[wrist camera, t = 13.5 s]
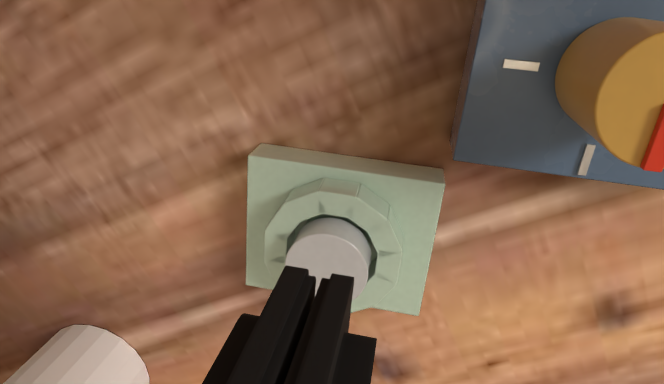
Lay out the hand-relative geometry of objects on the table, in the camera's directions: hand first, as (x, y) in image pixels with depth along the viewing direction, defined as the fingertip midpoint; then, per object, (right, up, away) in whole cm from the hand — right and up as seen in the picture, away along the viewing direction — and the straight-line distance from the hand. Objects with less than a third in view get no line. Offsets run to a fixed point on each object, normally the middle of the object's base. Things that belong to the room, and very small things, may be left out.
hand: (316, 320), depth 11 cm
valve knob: (+12, +8, +8) cm, 16 cm away
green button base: (+1, +1, +16) cm, 16 cm away
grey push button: (0, 0, +12) cm, 12 cm away
